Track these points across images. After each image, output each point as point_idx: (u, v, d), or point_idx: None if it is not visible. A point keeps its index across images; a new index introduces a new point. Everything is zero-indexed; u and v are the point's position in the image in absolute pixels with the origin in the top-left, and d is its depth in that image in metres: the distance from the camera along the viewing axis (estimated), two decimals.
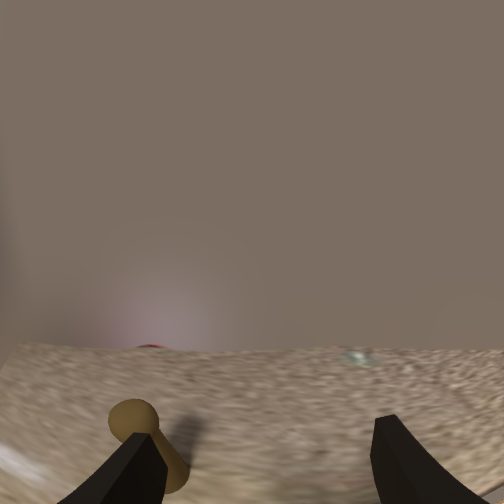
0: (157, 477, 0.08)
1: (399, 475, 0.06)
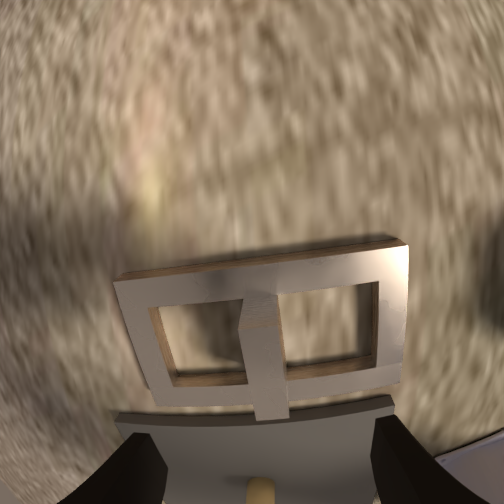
0: (157, 477, 0.08)
1: (399, 475, 0.06)
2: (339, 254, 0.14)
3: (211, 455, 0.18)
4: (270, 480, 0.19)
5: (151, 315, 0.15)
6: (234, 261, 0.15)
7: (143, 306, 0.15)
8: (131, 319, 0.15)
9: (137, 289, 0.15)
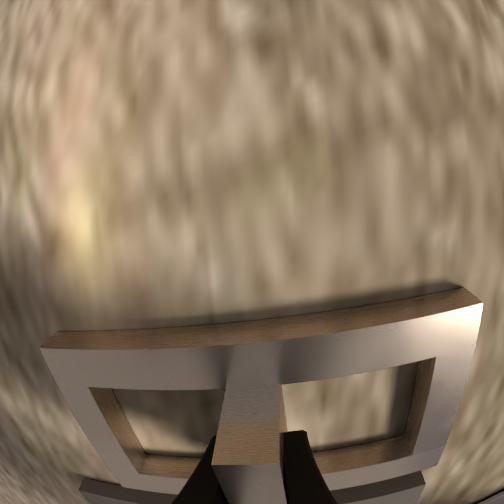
0: None
1: None
2: (384, 324, 0.08)
3: None
4: None
5: (97, 395, 0.09)
6: (211, 328, 0.09)
7: (82, 384, 0.09)
8: (71, 397, 0.09)
9: (70, 362, 0.09)
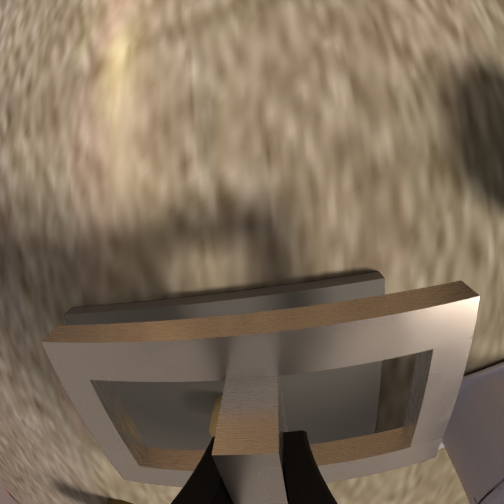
0: None
1: None
2: (381, 316, 0.08)
3: None
4: None
5: (98, 387, 0.10)
6: (211, 320, 0.09)
7: (84, 377, 0.09)
8: (72, 390, 0.10)
9: (71, 355, 0.09)
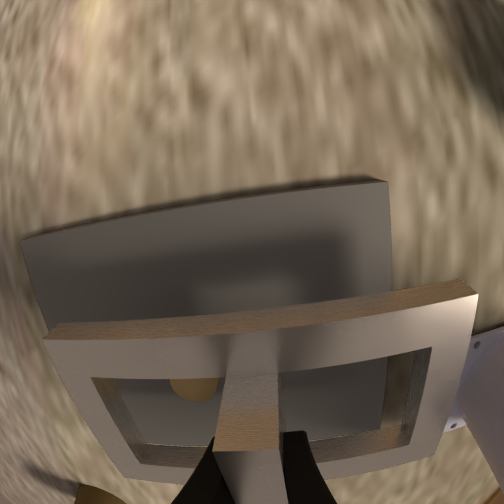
0: None
1: None
2: (380, 313, 0.08)
3: (126, 285, 0.14)
4: None
5: (99, 385, 0.10)
6: (211, 317, 0.09)
7: (85, 374, 0.09)
8: (73, 387, 0.10)
9: (72, 352, 0.09)
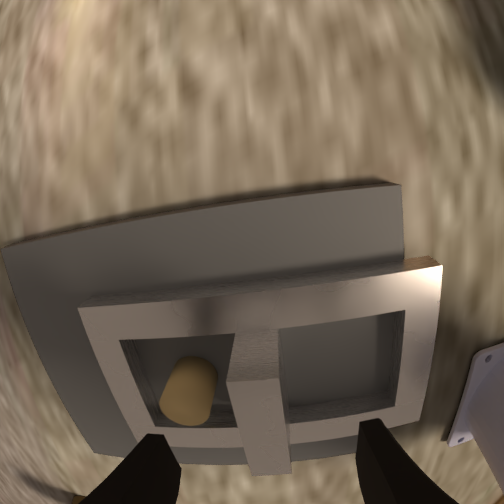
0: (171, 478, 0.08)
1: (380, 480, 0.06)
2: (359, 278, 0.11)
3: None
4: (208, 364, 0.13)
5: (125, 348, 0.12)
6: (224, 284, 0.12)
7: (114, 338, 0.12)
8: (101, 351, 0.12)
9: (105, 317, 0.12)
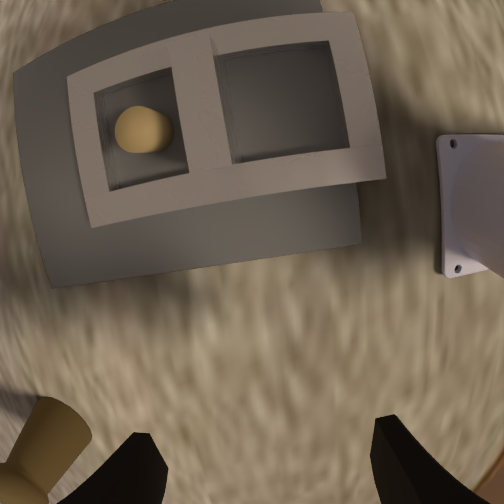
0: (157, 477, 0.08)
1: (399, 475, 0.06)
2: None
3: None
4: (166, 115, 0.14)
5: (97, 104, 0.13)
6: None
7: (90, 92, 0.13)
8: (76, 110, 0.13)
9: (86, 76, 0.12)
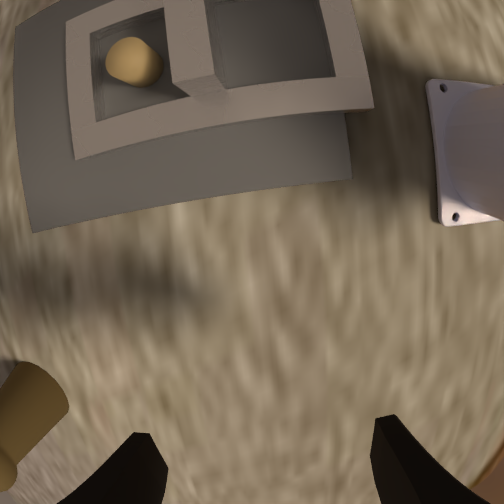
0: (157, 477, 0.08)
1: (399, 475, 0.06)
2: None
3: None
4: (156, 52, 0.13)
5: (92, 44, 0.12)
6: None
7: (86, 33, 0.12)
8: (72, 50, 0.12)
9: (84, 20, 0.11)
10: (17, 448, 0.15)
